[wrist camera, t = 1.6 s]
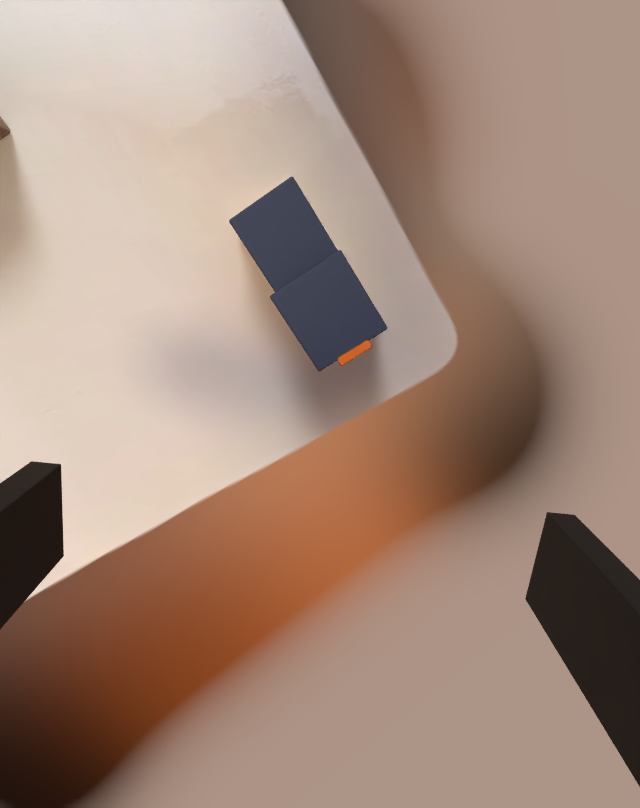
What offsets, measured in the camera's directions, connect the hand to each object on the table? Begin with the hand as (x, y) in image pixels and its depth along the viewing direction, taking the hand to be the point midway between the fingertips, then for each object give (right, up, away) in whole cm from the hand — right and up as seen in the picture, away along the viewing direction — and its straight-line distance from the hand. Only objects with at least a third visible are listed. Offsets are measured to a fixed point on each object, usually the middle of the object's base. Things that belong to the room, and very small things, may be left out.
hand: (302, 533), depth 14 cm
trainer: (0, +12, +20) cm, 24 cm away
